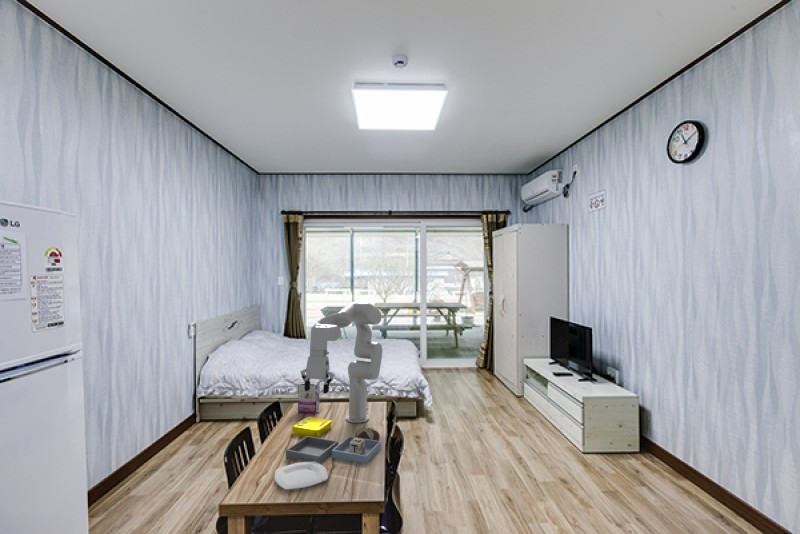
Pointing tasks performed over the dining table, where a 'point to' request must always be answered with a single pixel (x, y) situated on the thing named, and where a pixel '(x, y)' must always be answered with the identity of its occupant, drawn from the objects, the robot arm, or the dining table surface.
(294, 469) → the plate
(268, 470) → the dining table surface
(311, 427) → the element tile
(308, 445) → the charcoal bin
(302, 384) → the candy bar box
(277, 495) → the dining table surface
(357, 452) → the letter cube
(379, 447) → the slate bin
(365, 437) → the bread
